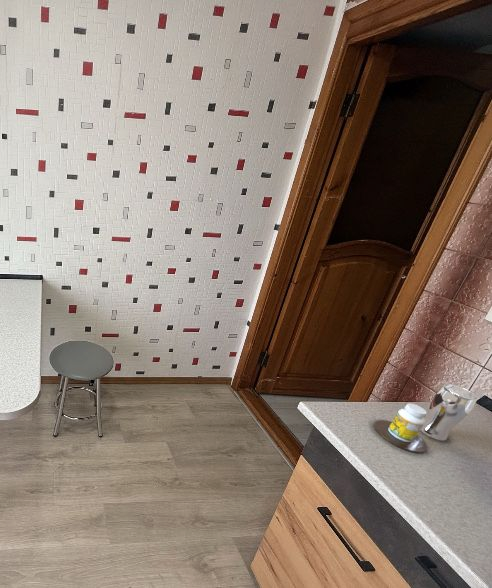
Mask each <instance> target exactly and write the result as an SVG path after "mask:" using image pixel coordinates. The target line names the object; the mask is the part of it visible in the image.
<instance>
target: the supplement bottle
mask: <svg viewBox="0 0 492 588" xmlns="http://www.w3.org/2000/svg"><path fill="white" fill-rule="evenodd" d="M397 411H398V412H397V413H396V414H395V416H394V418H393V420H392V421H391V422H392V423H391V424H390V426H389V428H388V430H389V432H390V433H391V434H392V435H393V436H394V437H396V438H397V439H399V440H402V441H405V442H412V441H413V440H414V439H415V437H416V436H417V435H418V434H419V433H420V432H421V431H420V430H421V428H422V427H423V425H424V424H425V417H426V416H427V413H428V411H427V410H426V409H425V408H423V407H421V406H420V405H417V404H415V403H407V404H406V405H405V406H404V408H400V409H399V410H397Z"/></svg>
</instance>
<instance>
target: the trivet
mask: <svg viewBox="0 0 492 588" xmlns="http://www.w3.org/2000/svg"><path fill="white" fill-rule="evenodd" d="M391 423H392V421H391V420H386V419H385V420H384V419H379V420H377V421H375V422H374V424H373V427H374V430H375V432H377V434H378V435H379V436H380V437H381V438H382V439H384V440H385V441H386V442H388V443H390V444H391V445H393V446H395V447H396V448H399V449H400V450H403V451H406V452H408V453H409V452H410V453H414V454H423V453H425V452H426V451H427V444H426V442H425V441H424V440H423V439H422V437H420V436H419V435H418V434H417V436H416V437H415V439H414V440H413V441H412V442H405V441H402V440H399V439H397V438H396V437H394V436H393V435H392V434H391V433H390V432H389V430H388V428H389V426H390V424H391Z"/></svg>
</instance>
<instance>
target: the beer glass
mask: <svg viewBox="0 0 492 588" xmlns="http://www.w3.org/2000/svg"><path fill="white" fill-rule="evenodd" d="M478 400H479V397H478V396H477V394H475V393H474V392H472V391H471V390H470V389H467V388H465V387H463V386H460V385H457V384H454V383H449V382H448V383H443V385H442V386H441V387H440V388H439V390H437V392H436V394H435V395H434V396H433V397H432V400H431V402H430V405H429V408H428V410H427V414H426V415H425V417H424V419H425V424H424V425H423V427H422V428H421V430H420V431H419V432H422V433H423V434H424V435H426V436H427V437H430V438H431V439H434V440H436V441H442V442H444V441H447V439H448V438H449V433H450V432H451V430H452V429H453V428H454V427H455V426H456V425H458V424H459V423H461V421H463V420H464V419H465V418H466V417H467V416H469V414H470V413H471V412H472V410H473V408H474V407H475V405H476V403H477V401H478Z"/></svg>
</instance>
